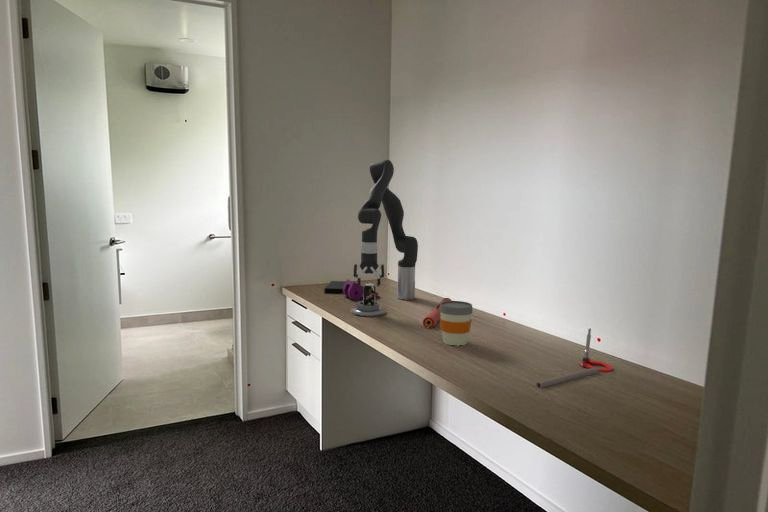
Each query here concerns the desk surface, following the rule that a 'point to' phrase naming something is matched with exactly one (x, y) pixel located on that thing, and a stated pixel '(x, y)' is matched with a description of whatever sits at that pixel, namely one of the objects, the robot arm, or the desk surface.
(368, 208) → the robot arm
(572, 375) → the metal rod
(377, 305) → the rosette socket
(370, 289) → the beverage can
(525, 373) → the desk surface
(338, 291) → the external hard drive
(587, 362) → the tow hook
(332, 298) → the desk surface
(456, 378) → the desk surface
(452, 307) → the reusable coffee cup
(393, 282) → the desk surface
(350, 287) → the mounting bracket
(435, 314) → the blood vessel
